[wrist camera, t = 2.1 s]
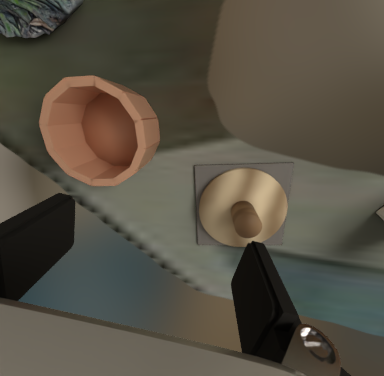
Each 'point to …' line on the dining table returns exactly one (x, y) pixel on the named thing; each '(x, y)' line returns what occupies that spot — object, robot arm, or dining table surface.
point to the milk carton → (381, 212)
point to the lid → (242, 207)
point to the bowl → (98, 129)
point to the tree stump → (34, 16)
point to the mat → (209, 172)
